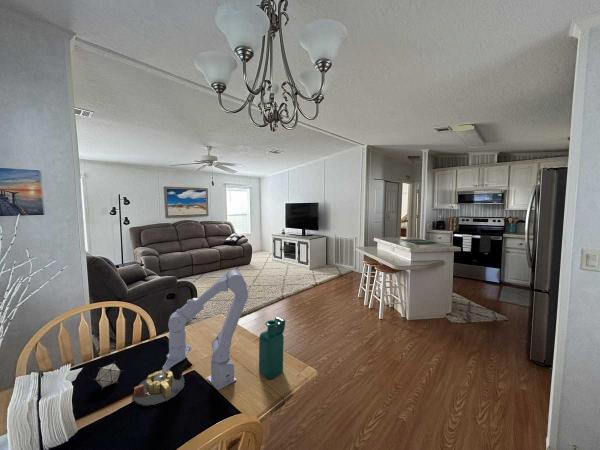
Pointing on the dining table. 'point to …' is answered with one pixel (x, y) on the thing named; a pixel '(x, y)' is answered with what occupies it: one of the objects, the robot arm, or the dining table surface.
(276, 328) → the green flip-top bottle
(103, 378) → the game die
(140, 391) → the flange
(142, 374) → the dining table surface
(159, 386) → the yellow toy key
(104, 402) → the dining table surface
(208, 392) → the dining table surface
